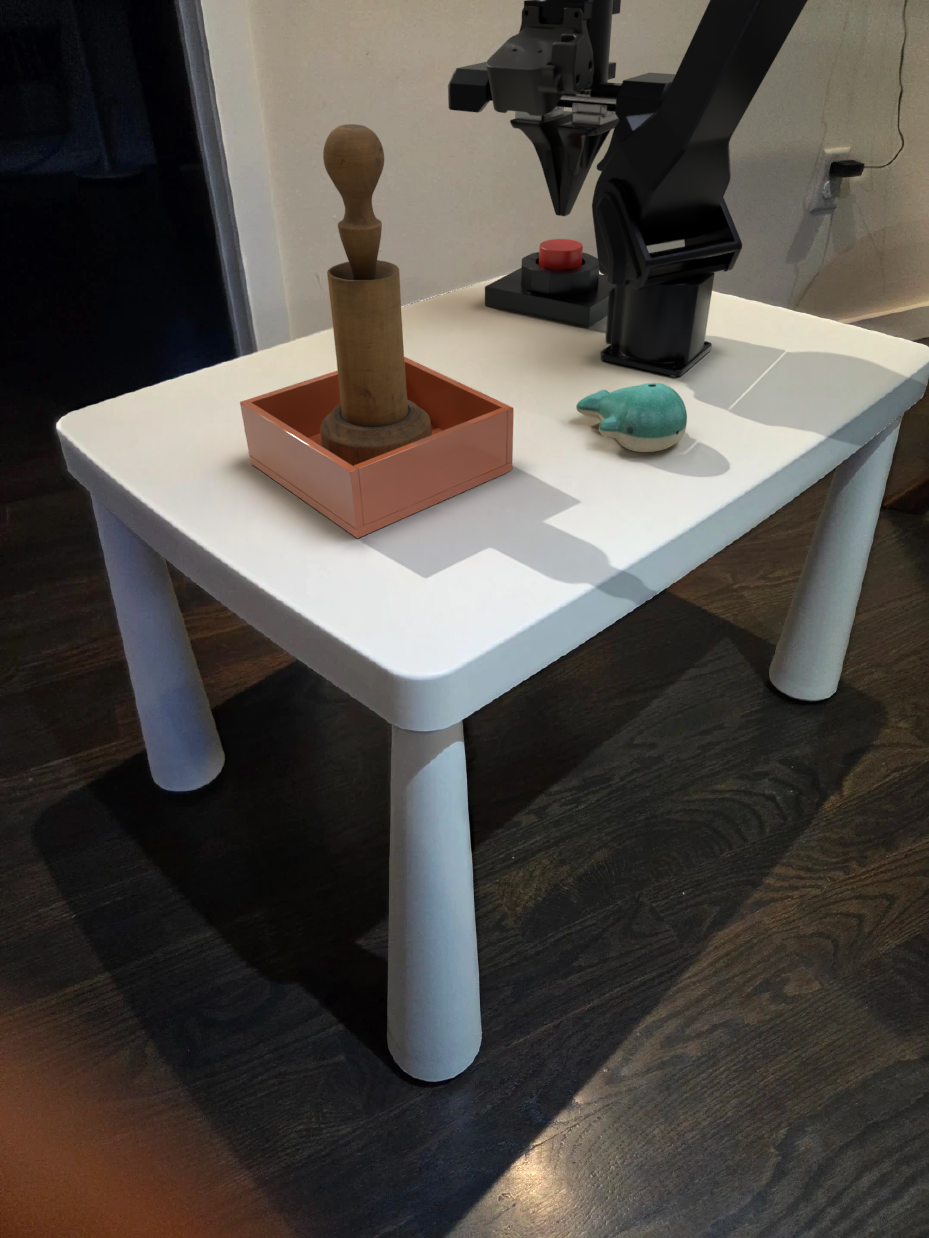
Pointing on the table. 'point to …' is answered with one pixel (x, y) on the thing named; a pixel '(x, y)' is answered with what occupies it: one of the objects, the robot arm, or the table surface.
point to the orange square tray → (392, 482)
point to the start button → (560, 254)
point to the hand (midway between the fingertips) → (562, 215)
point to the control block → (553, 292)
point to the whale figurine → (638, 416)
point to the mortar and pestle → (366, 315)
